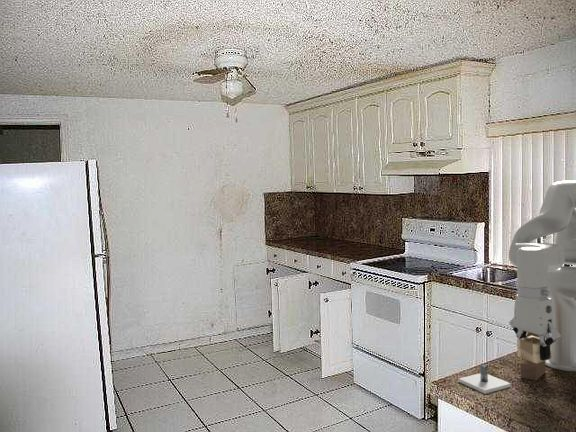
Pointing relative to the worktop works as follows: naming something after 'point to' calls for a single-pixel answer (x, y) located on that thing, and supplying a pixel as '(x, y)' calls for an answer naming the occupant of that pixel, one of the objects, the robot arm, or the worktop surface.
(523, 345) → the maple collar
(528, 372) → the wooden block
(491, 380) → the pin plate
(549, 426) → the worktop surface
